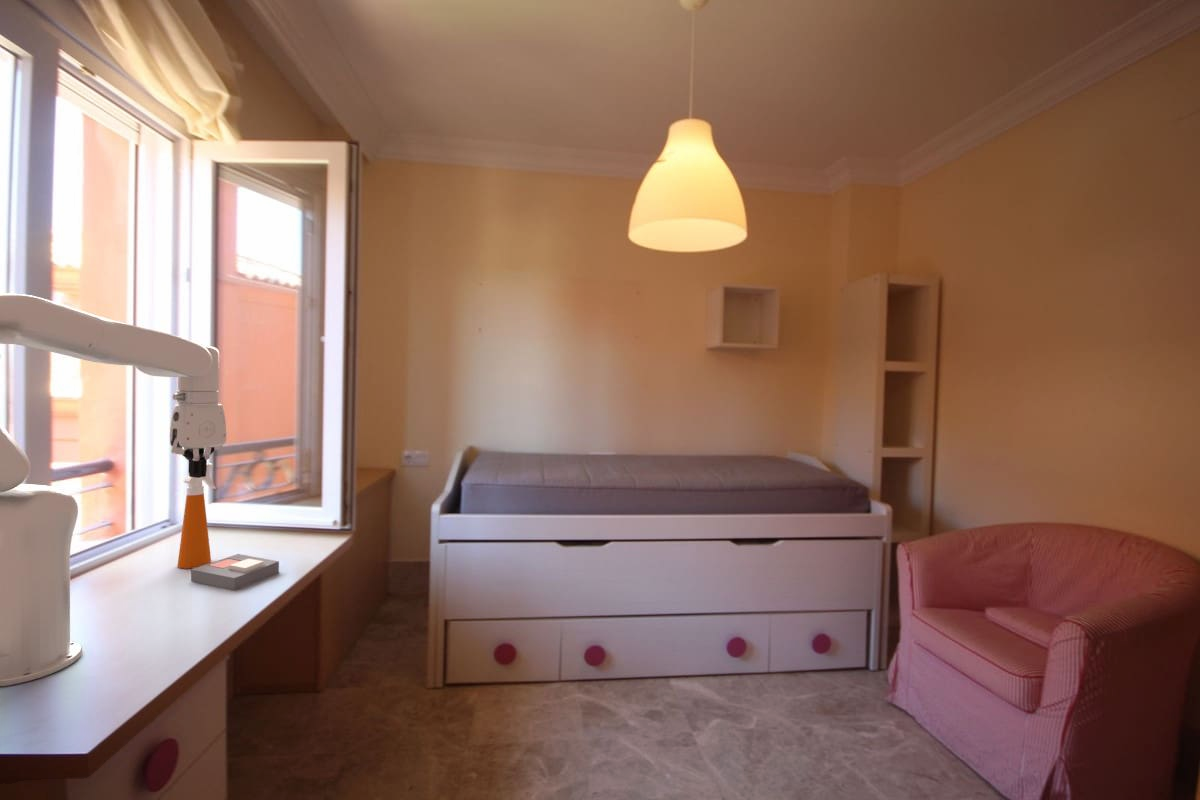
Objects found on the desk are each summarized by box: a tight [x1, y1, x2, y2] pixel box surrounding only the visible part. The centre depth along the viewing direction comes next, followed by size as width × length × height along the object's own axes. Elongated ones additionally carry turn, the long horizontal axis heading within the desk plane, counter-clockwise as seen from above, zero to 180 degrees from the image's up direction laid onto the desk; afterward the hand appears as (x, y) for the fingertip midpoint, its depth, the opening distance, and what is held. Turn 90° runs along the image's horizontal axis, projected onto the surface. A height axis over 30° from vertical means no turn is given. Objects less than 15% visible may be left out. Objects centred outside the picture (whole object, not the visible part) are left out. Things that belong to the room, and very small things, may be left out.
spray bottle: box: [177, 462, 217, 570], centre depth 138 cm, size 7×11×26 cm, turn 2°
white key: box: [230, 559, 264, 573], centre depth 128 cm, size 5×5×2 cm
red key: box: [209, 559, 240, 569], centre depth 130 cm, size 5×5×2 cm
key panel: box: [190, 553, 280, 591], centre depth 129 cm, size 12×14×3 cm
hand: (197, 476), depth 120 cm, fingers closed
